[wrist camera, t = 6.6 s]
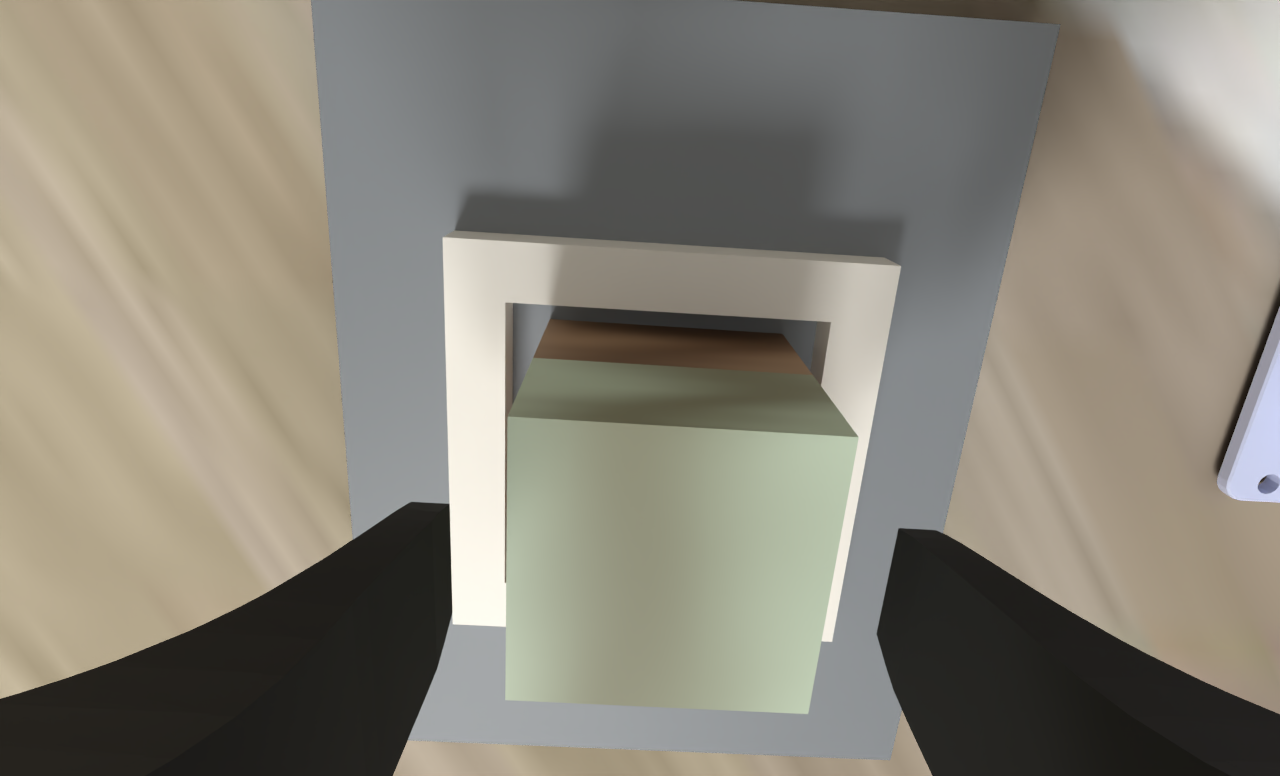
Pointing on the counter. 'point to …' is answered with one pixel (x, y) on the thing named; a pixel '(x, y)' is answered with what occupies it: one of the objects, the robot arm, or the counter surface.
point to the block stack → (671, 519)
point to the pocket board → (665, 275)
